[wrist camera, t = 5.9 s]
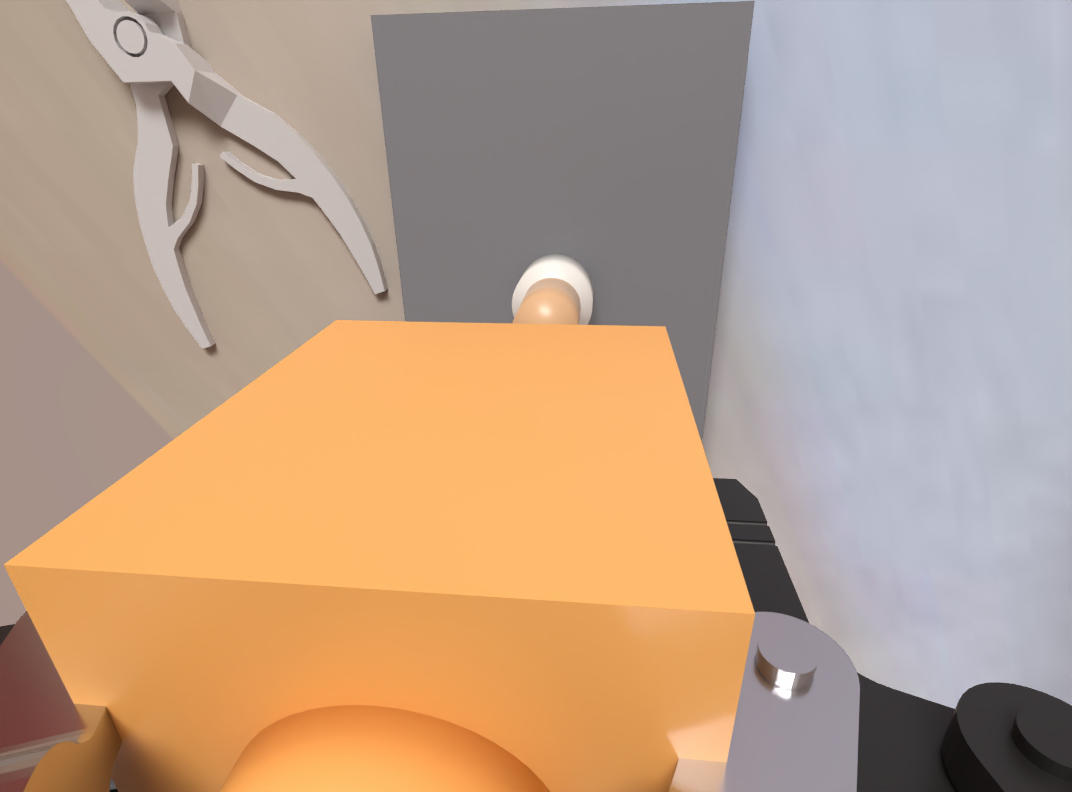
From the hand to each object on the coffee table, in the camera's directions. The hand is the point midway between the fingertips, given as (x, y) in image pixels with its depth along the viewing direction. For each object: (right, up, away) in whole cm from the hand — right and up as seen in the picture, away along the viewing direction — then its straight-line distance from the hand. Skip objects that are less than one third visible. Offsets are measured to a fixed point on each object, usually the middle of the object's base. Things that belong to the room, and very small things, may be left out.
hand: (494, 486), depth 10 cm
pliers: (-12, +12, +14) cm, 22 cm away
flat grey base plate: (+2, +6, +14) cm, 15 cm away
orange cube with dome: (0, 0, +1) cm, 1 cm away
